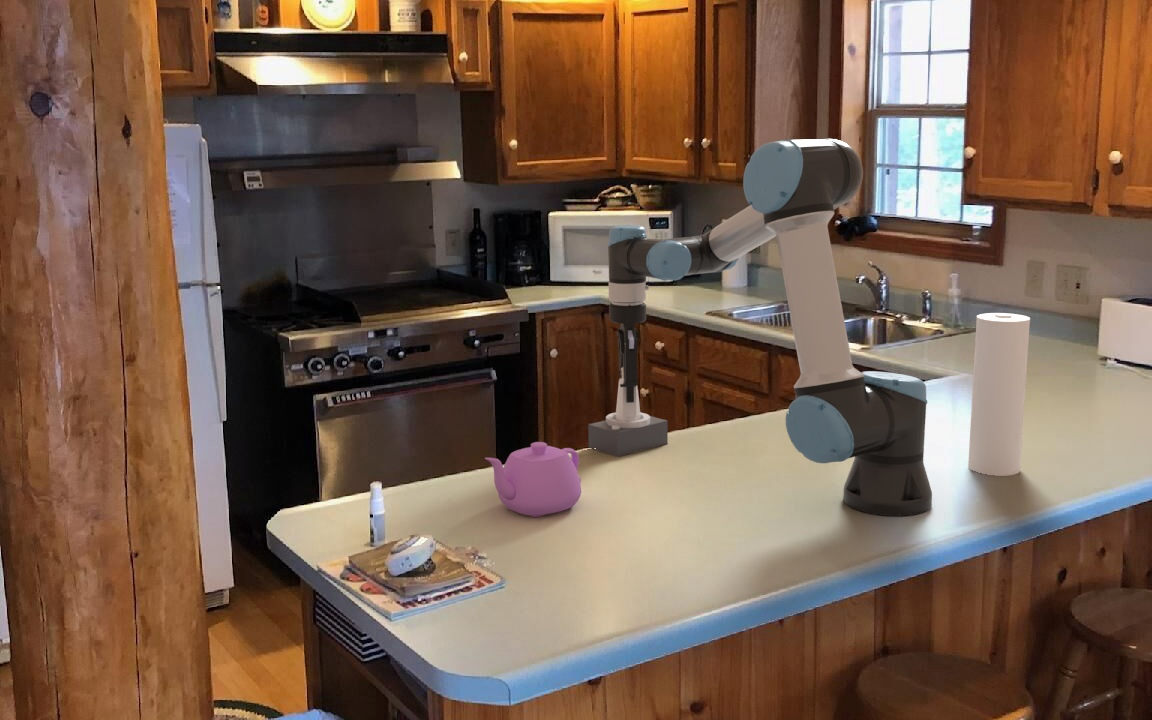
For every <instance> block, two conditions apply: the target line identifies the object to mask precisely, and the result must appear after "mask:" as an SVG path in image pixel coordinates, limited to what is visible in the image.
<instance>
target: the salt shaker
mask: <svg viewBox="0 0 1152 720" xmlns="http://www.w3.org/2000/svg"><path fill="white" fill-rule="evenodd" d="M621 371H622V372H621V375H622V378H621V379H620V378H619V379H618V388H617V396H616V397H617V399H616V407H615V413H616V417H615V418H616V420H620V421H636V420H640V419H641V415H640V412H641V409H640V408H641V405H640V398H639V389H638V388H639V387H638V385H637V386H636V417H630V418H623V387H620V384H623V383H624V374H623V367H622V368H621Z"/></svg>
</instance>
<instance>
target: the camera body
mask: <svg viewBox="0 0 1152 720" xmlns="http://www.w3.org/2000/svg"><path fill="white" fill-rule="evenodd" d="M640 415H641V419H640V420H636V421H620V420H616V418H615V417H616V412H612V413H609V414H607V415H606V416H605V420H602V421H598V422H597V421H596V422H593V423H588V425H587V429H588V433H587V434H588V448H589V449H592V450H595V451H598V452H601V453H604V454H607V455H611V456H614V457H617V458H618V457H619V458H620V457H623V456H626V455H627V456H628V455H631V454H634V453H635V454H636V453H637V452H641V451H646V450H650V449H652V448H653V449H654V448H657V447H661V446H664V445H665V446H666V445H668V441H669V439H668V435H669V433H668V427H669V426H668V422H669V421H668V420H667V419H662V418H658V417H655V416H653V415H649V414H647V413H644V412H641V411H640ZM594 448H596V449H594Z"/></svg>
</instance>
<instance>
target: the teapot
mask: <svg viewBox="0 0 1152 720" xmlns="http://www.w3.org/2000/svg"><path fill="white" fill-rule="evenodd" d="M570 454H571V456H570ZM484 460H487V461H488V462H490V464H491V466H492V468H493V480H494V486H495V489H496V491H497V496H498V498H499V499H500V501H501V503H502V504H503V505H504V507H505V508H507V509H508V510H511V511H513V512H515V513H517V514H521V515H524V516H530V517H533V518H540V517H543V516H544V515H550V514H555V513H556V514H557V513H559V512H563V511H566V510H569V509H571V508H572V507H574V506H576V504H577V502H578V501H579V499H580V497H581V495H582V484H581V483H582V481H581V478H580V476H579V473H578V468H579V462H580V457H579V454H578V452H577V451H576V450H575V449H573V448H571V447H564V448H561V449H560V448H558V447H555V446H551V445H548V443H546V442H544V441H535V442H532V443H530V447H529V446H528V447H524V448H521V449H517V450H515V451H513V452H511V453H510V454H509V456H508V457H507V459H506V461H505V464H504V466H503V464H502V461H501V460H499V459H498V458H495V457H484Z"/></svg>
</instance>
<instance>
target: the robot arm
mask: <svg viewBox="0 0 1152 720" xmlns="http://www.w3.org/2000/svg"><path fill="white" fill-rule="evenodd" d="M863 177H864V169H863V164H862V160H861V158H860V156H859V154H858V153H857V152H856V151H855V150H854V148H852V147H851V146H850V145H848V144H847V143H846V142H844V141H842V140H838V139H836V138H834V139H833V138H821V139H788V138H787V139H782V140H777V141H771V142H770V141H769V142H767V143H766V142H765V143H764V144H762V145H760V146H759V147H757V149H756V150H755V151H754V152H753V153H752V154H751V156H750V158H749V162H747V164H746V166H745V169H744V173H743V181H742V183H743V193H744V196H745V199H746V201H747V203H748V206H747V207H745V208H744V209H742V210H740V211H738V212H737V213H735V214H734V215H733V216H731V217H729V218H728V219H726V220H725V221H723V222H721V223H720V224H718V225H716V226H715V227H713V228H712V229H710V230H709V231H707V232H706V233H704V234H700V235H695V236H693V235H692V236H685V237H674V238H673V237H672V238H662V239H657V238H647V232H646V227H644V226H642V225H633V224H632V225H629V224H627V225H616V226H612V227H611V228H610V229H609V231H608V243H607V244H608V245H607V250H608V251H607V252H608V253H607V255H608V300H609V302H611V303H609V305H608V312H609V313H608V317H609V318H608V319H609V322H611V323H614V324H620V325H619V326H620V327H618V329H617V330H616V336H617V339H618V340H617V341H618V343H617V344H618V345H617V346H618V375H619V379H621V378H622V375H621V372H622V371H621V368H622V367H623V374H624V383H623V384H620V387H623V418H630V417H636V386H638V384H639V381H638V350H639V349H638V345H639V338H640V336H639V331H637V328H636V326H635V325H636V324H641V323H644V322H646V320H647V304H646V303H645V302H644V301H646V300H647V292H646V291H648V290H649V289H650V287H649V285H646V283H647V282H646V281H647V278H652V279H658V280H661V281H664V282H665V281H678V280H681V279H682V278H684V277H685V276H692V275H699V274H710V273H720V272H724V271H728V270H731V269H732V268H734V267H735V266H736V264H737V262H738V261H739V258H741V257H742V256H744V255H746V254H748V253H749V252H751V251H752V250H754V249H756V248H759V246H761V245H763V244H766V243H767V242H769V241H770V240H772V239H774V238H775V237H776V242H777V248H778V255H779V260H780V264H781V270H782V277H783V280H784V281H783V282H784V286H785V293H786V299H787V306H788V310H789V317H790V321H791V326H792V332H793V337H794V343H795V344H794V345H795V349H796V354H797V355H796V356H797V360H798V364H799V370H800V371H799V372H800V376H799V378H798V379H797V381H796V383H795V384H794V385H793V388H794V389H793V390H794V394H795V399H794V400H793V401H792V402H791V403H790V404H789V406H788V407H787V408H788V411H786V414H785V428H786V432H787V434H788V435H787V436H788V438H789V440H790V442H791V443H792V445H793V447H794V448H795V449H796V451H797V452H799V453H800V454H801V455H802V456H803V457H804V458H805V459H807V460H809V461H811V462H813V463H817V464H830V463H841V462H844V461H846V460H848V459H850V458H851V459H852V458H854V459H853V463H852V465H851V467H850V470H849V472H848V475H847V478H846V480H845V483H844V486H843V491H842V492H843V495H842V496H843V497H842V500H843V502H844V504H846V505H847V506H849V507H850V508H852V509H854V510H856V511H860V512H864V513H866V514H872V515H882V516H895V517H896V516H899V517H900V516H911V515H918V514H921V513H922V514H923V513H924V512H927V511H928V510H929V509H931V507H932V505H933V504H932V503H933V492H932V487H931V485H930V481H929V477H928V474H927V470H926V467H925V464H924V453H925V436H926V435H925V433H926V418H927V416H926V414H927V404H928V400H927V385H926V383H925V382H924V381H923V380H922V379H920V378H918V377H915V376H911V375H907V374H900V373H896V372H895V373H894V372H886V371H875V370H874V371H873V370H872V371H871V370H869V371H868V370H867V371H862V372H861V371H859V370H858V369H857V368H855V367H854V365H853V362H852V361H853V360H852V355H851V350H850V345H849V339H848V335H847V333H848V332H847V329H846V322H845V317H844V312H843V305H842V302H841V301H842V300H841V295H840V289H839V284H838V279H837V273H836V267H835V261H834V256H833V250H832V244H831V239H830V233H829V228H828V225H829V223H830V221H831V219H832V218H833V217H834V215H835V210H836V209H838V208H840V207H841V206H844V205H845V204H847V203H848V202H849V201H851V200H852V199H853V198H854V197H855V196H856V195H857V193H858V191H859V190H860V188H861V186H862V184H863V183H862V182H863Z"/></svg>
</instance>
